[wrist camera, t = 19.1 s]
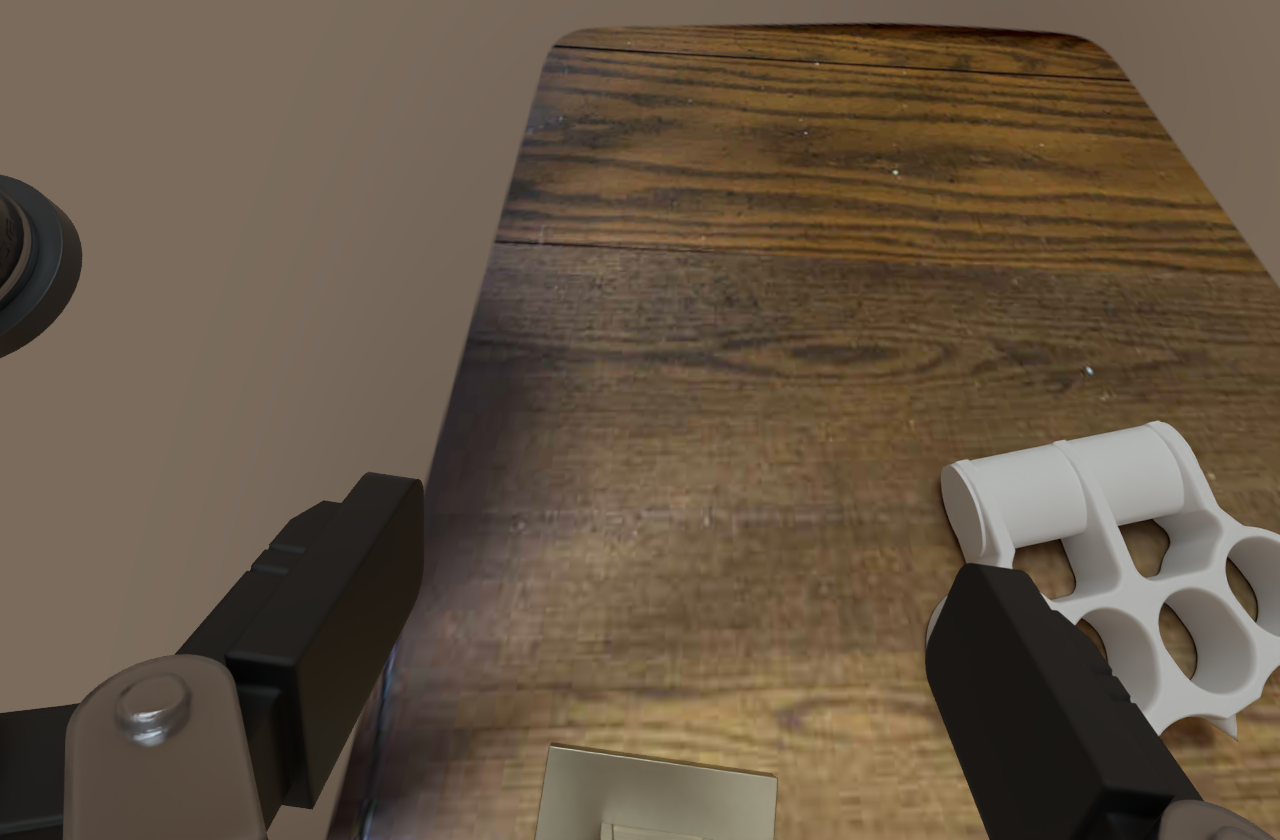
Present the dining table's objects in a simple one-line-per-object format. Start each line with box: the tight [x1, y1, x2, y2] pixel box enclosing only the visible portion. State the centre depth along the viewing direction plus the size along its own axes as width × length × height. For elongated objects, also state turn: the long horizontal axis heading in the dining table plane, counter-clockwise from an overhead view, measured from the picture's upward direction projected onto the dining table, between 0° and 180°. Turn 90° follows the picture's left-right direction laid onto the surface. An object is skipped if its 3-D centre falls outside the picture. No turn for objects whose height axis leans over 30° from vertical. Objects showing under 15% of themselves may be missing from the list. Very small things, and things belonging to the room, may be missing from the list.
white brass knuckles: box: [926, 421, 1280, 742], centre depth 33 cm, size 3×18×15 cm
